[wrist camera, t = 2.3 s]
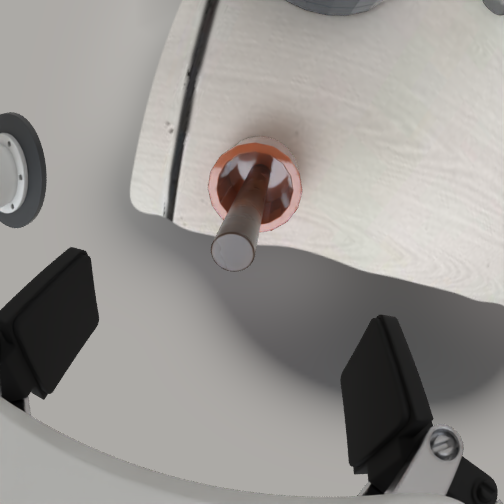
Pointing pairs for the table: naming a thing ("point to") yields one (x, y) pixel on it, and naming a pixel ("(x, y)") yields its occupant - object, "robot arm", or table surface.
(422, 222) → the table surface
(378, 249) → the table surface
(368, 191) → the table surface
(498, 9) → the cup
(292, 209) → the holder
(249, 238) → the stick
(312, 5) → the bowl
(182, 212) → the table surface
